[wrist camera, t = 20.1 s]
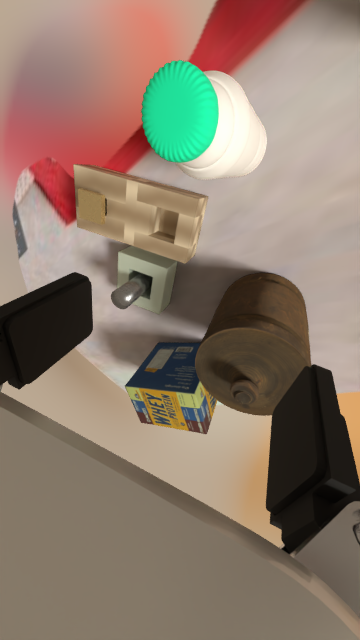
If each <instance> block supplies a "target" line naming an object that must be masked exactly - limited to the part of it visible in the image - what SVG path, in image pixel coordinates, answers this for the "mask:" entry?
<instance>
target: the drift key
mask: <svg viewBox="0 0 360 640" xmlns="http://www.w3.org/2000/svg"><path fill="white" fill-rule="evenodd" d="M78 202H79V218H82V219H85V220H88V221H91V222H94V223H97V224H100V225H102V224H105V213H107V198H105V195H103V194H99V193H96V192H93V191H89V190H86V189H83V188H79V189H78Z"/></svg>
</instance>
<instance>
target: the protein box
mask: <svg viewBox="0 0 360 640" xmlns="http://www.w3.org/2000/svg"><path fill="white" fill-rule="evenodd" d="M199 345H200V343H158V344H157V345H156V347H155V348H154V349H153V351H152V352H151V353H150V354H149V356H148V357H147V358H146V360H145V361H144V362H143V363H142V365H141V366H140V367H139V369H138V370H137V371H136V372H135V374H134V375H133V376H132V378H131V379H130V380H129V381H128V383H127V384H126V385H125V388H126V390H127V392H128V394H129V396H130V398H131V401H132V403H133V405H134V407H135V410H136V412H137V414H138V417H139V419H140V421H141V423H147V424H153V425H158V426H164V427H170V428H175V429H181V430H187V431H193V432H198V433H203V434H207V432H208V429H209V425H210V422H211V419H212V416H213V413H214V409H215V406H216V403H217V400H216V399H215V398H214V397H213V396H212V395H211V394H210V393H209V392H208V391H207V390H206V389H205V388H204V386H203V385H202V383H201V382H200V380H199V378H198V375H197V372H196V368H195V358H196V354H197V351H198V348H199Z"/></svg>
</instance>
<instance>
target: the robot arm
mask: <svg viewBox="0 0 360 640" xmlns="http://www.w3.org/2000/svg"><path fill="white" fill-rule="evenodd" d="M92 330H93V318H92V288H91V282H90V281H89V278H88V277H87V276H84V275H82V274H79V273H76V272H74V273H71V274H69V275H67V276H65V277H62V278H60V279H58V280H56V281H54V282H52V283H49V284H47V285H45V286H43V287H41V288H39V289H36V290H34V291H32V292H30V293H28V294H26V295H24V296H21V297H19V298H17V299H15V300H13V301H11V302H9V303H7V304H4V305H2V306H0V640H360V483H359V479H358V474H357V470H356V465H355V461H354V456H353V452H352V447H351V443H350V438H349V434H348V430H347V425H346V421H345V418H344V417H343V416H342V415H341V414H340V409H339V405H338V400H337V395H336V390H335V385H334V381H333V376H332V372H331V371H330V370H328V369H325V368H322V367H320V366H317V365H315V364H314V365H312V366H311V367H309V366H305V367H304V368H303V370H302V371H301V372H300V374H299V375H298V377H297V378H296V379H295V381H294V382H293V384H292V385H291V386H290V388H289V389H288V390H287V392H286V393H285V395H284V396H283V397H282V399H281V400H280V402H279V403H278V404H277V406H276V407H275V409H274V411H273V415H272V426H271V439H270V455H269V467H268V483H267V496H266V509H267V510H268V511H270V512H271V514H270V524H272V525H274V526H276V527H278V528H279V529H281V530H282V541H283V543H284V544H283V545H282V546H280V547H279V548H278V547H277V546H275V545H273V544H272V543H271V542H269V541H267V540H266V539H264V538H263V537H261V536H259V535H258V534H256V533H254V532H253V531H251V530H249V529H248V528H246V527H244V526H242V525H241V524H239V523H237V522H236V521H234V520H232V519H230V518H229V517H226V516H225V515H223V514H222V513H220V512H218V511H216V510H214V509H213V508H211V507H209V506H208V505H206V504H204V503H203V502H201V501H199V500H197V499H195V498H193V497H192V496H190V495H188V494H186V493H184V492H182V491H181V490H179V489H177V488H175V487H174V486H172V485H170V484H168V483H166V482H164V481H163V480H161V479H159V478H157V477H155V476H153V475H152V474H150V473H148V472H146V471H145V470H143V469H141V468H139V467H137V466H136V465H133V464H132V463H130V462H128V461H127V460H125V459H123V458H121V457H119V456H117V455H116V454H114V453H112V452H110V451H108V450H107V449H105V448H103V447H101V446H99V445H97V444H96V443H94V442H92V441H90V440H88V439H86V438H85V437H83V436H81V435H79V434H77V433H75V432H74V431H72V430H70V429H68V428H66V427H64V426H63V425H61V424H59V423H57V422H55V421H53V420H52V419H50V418H48V417H46V416H44V415H42V414H41V413H39V412H37V411H35V410H33V409H31V408H29V407H27V406H26V405H24V404H22V403H20V402H18V401H16V400H15V399H13V398H11V397H9V396H7V395H5V394H4V393H2V392H1V389H2V385H3V383H5V382H6V381H8V383H9V384H10V385H12V386H13V387H15V388H18V389H21V388H22V387H23V386H24V385H26V384H30V383H31V382H33V381H34V380H35V379H37V378H38V377H39V376H40V375H41V374H43V373H44V372H45V371H46V370H48V369H49V368H50V367H51V366H52V365H54V364H55V363H56V362H57V361H59V360H60V359H61V358H62V357H63V356H65V355H66V354H67V353H68V352H70V351H71V350H72V349H73V348H75V347H76V346H77V345H78V344H80V343H81V342H82V341H83V340H84V339H86V338H87V337H88V336H89V335H90V334H91V332H92Z"/></svg>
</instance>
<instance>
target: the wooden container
mask: <svg viewBox="0 0 360 640" xmlns="http://www.w3.org/2000/svg"><path fill="white" fill-rule="evenodd" d="M305 366H309V367H311V358H310V344H309V329H308V320H307V313H306V307H305V302H304V299H303V296H302V294H301V292H300V291H299V290H298V288H297V287H296V286H295V285H294V284H293V283H292V282H290V281H289V280H287V279H285V278H284V277H281V276H279V275H275V274H270V273H254V274H250V275H247V276H244V277H242V278H240V279H238V280H237V281H235V282H234V283H233V284H232V285H231V286H230V287H229V288H228V290H227V291H226V293H225V294H224V296H223V298H222V300H221V302H220V304H219V306H218V308H217V310H216V312H215V314H214V316H213V319H212V321H211V323H210V325H209V327H208V330H207V332H206V334H205V336H204V338H203V339H202V341H201V343H200V345H199V348H198V351H197V354H196V358H195V368H196V372H197V375H198V378H199V380H200V382H201V383H202V385H203V386H204V388H205V389H206V390H207V391H208V392H209V393H210V394H211V395H212V396H213V397H214V398H215V399H216V400H218V401H219V402H221V403H223V404H224V405H226V406H228V407H230V408H232V409H235V410H237V411H240V412H243V413H248V414H252V415H273V411H274V409H275V407H276V406H277V404H278V403H279V402H280V400H281V399H282V397H283V396H284V395H285V393H286V392H287V390H288V389H289V388H290V386H291V385H292V384H293V382H294V381H295V379H296V378H297V377H298V375H299V374H300V372H301V371H302V370H303V368H304V367H305Z"/></svg>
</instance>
